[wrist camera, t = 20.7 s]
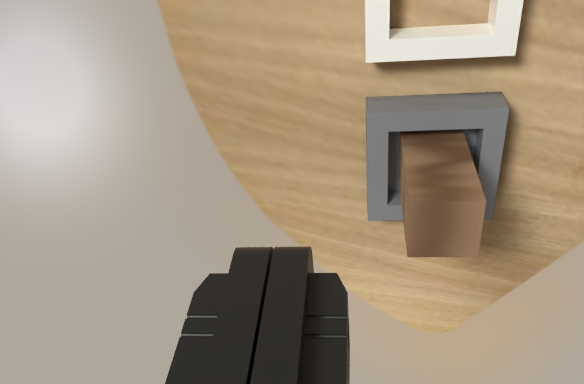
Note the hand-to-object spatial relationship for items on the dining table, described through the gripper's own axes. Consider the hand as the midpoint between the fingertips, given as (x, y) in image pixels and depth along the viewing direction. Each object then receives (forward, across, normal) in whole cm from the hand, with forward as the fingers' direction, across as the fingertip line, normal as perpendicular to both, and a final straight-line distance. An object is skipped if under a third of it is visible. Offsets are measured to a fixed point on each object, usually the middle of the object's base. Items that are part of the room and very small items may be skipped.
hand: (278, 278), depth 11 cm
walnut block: (+28, -7, +15) cm, 33 cm away
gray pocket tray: (+29, -7, +15) cm, 33 cm away
